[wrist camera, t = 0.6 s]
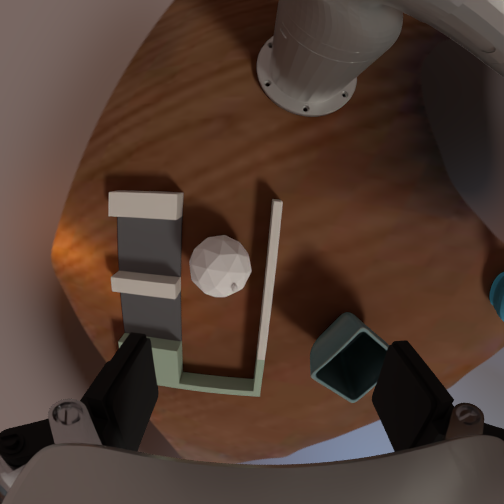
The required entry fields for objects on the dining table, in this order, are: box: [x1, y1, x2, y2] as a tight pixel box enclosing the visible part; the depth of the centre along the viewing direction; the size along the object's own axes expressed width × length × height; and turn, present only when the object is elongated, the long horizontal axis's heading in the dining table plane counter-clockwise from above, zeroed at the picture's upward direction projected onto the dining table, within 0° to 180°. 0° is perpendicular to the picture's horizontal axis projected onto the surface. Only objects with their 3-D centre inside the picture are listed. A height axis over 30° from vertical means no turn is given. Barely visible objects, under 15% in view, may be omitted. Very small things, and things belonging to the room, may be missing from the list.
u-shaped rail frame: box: [109, 190, 283, 397], centre depth 38 cm, size 28×21×3 cm
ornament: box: [189, 235, 251, 297], centre depth 34 cm, size 7×7×8 cm
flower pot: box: [310, 312, 389, 403], centre depth 37 cm, size 9×9×9 cm
